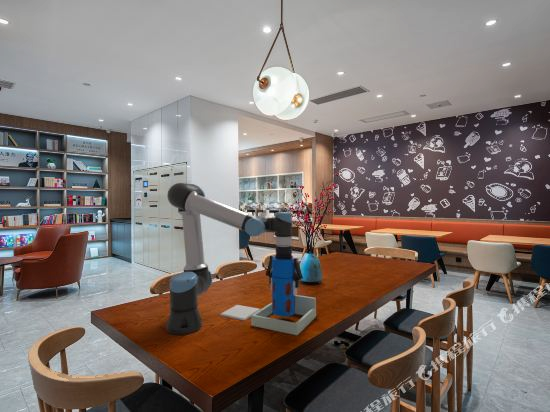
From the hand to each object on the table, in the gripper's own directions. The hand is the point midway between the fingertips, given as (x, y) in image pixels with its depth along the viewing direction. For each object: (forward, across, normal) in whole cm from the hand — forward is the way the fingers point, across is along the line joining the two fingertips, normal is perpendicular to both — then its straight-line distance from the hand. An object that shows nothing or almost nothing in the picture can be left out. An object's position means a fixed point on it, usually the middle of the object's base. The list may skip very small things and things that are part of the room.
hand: (283, 292), depth 138 cm
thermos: (+9, 0, 0) cm, 9 cm away
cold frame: (+13, 0, 0) cm, 13 cm away
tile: (+13, +24, +1) cm, 27 cm away
